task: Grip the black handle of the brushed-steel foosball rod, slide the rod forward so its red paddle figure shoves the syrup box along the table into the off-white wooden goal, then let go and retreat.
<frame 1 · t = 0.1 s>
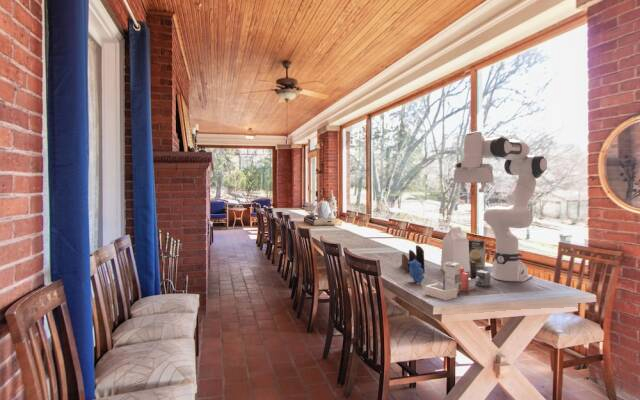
hand: (472, 192, 203), 48 cm above the table, fingers open, 8 cm apart
letter holder: (412, 269, 247), on the table
coffee box: (476, 266, 255), on the table
syrup box: (451, 293, 195), on the table
milk: (455, 270, 243), on the table
grapes: (414, 282, 215), on the table
rod: (475, 273, 205), point 7 cm above the table, slide at 0.0 cm
goal: (441, 295, 191), on the table
bearing: (482, 285, 209), on the table
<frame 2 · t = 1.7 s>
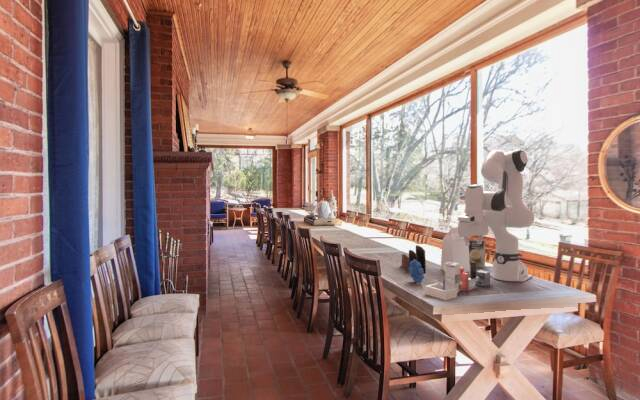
hand: (473, 244, 203), 22 cm above the table, fingers open, 8 cm apart
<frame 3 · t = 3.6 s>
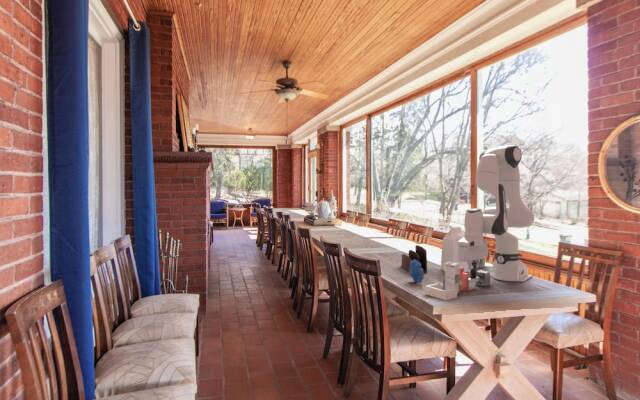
hand: (473, 268, 204), 10 cm above the table, fingers closed on rod, 3 cm apart
rod: (475, 273, 205), point 7 cm above the table, slide at 0.0 cm, touching gripper
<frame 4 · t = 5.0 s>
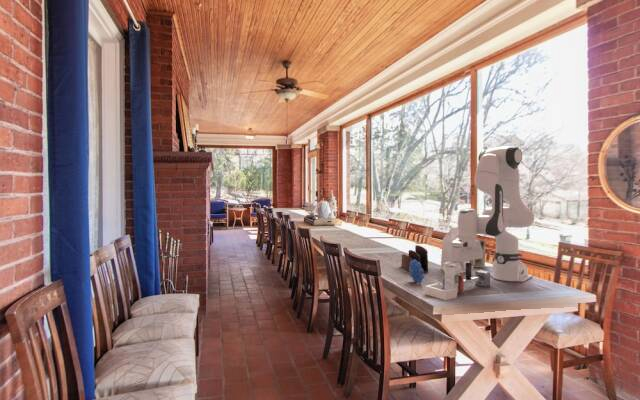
hand: (467, 269, 201), 10 cm above the table, fingers open, 4 cm apart
syrup box: (450, 293, 195), on the table, touching rod
rod: (470, 274, 203), point 7 cm above the table, slide at 3.9 cm, touching gripper, syrup box
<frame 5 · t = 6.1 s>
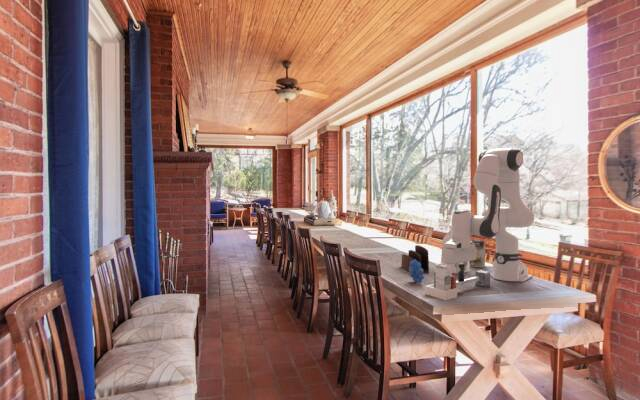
hand: (460, 271, 199), 10 cm above the table, fingers open, 3 cm apart
syrup box: (442, 295, 192), on the table, touching rod
rod: (463, 276, 200), point 7 cm above the table, slide at 9.5 cm, touching gripper, syrup box
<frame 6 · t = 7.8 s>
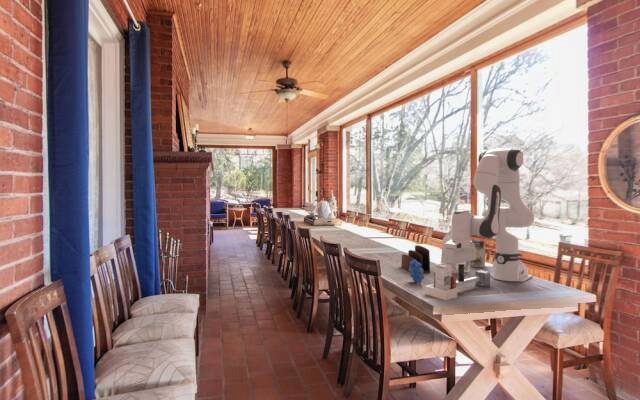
hand: (460, 271, 199), 10 cm above the table, fingers open, 7 cm apart
syrup box: (442, 295, 192), on the table
rod: (463, 276, 200), point 7 cm above the table, slide at 9.6 cm
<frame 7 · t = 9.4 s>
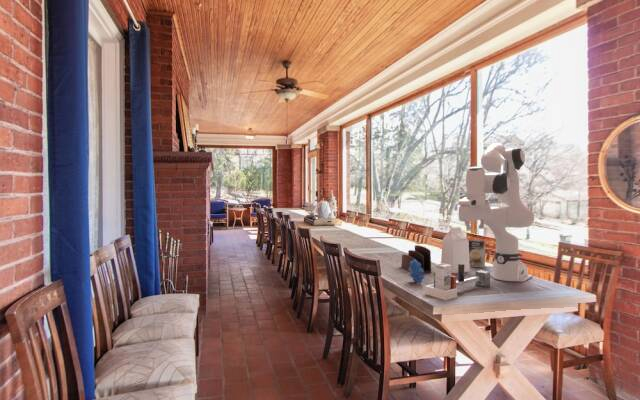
hand: (475, 229, 196), 30 cm above the table, fingers open, 8 cm apart
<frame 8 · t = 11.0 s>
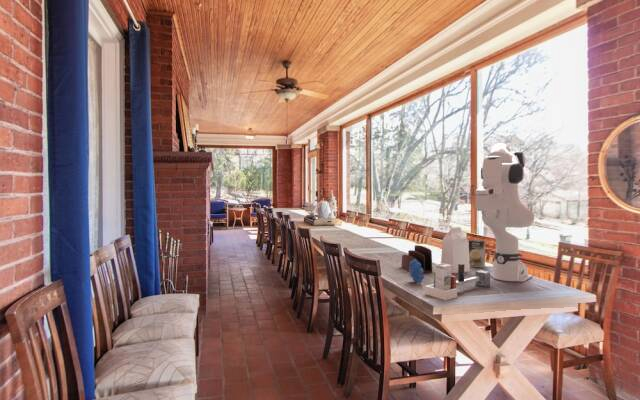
hand: (491, 219, 193), 35 cm above the table, fingers open, 8 cm apart
at the end: syrup box inside the target area (1.1 cm from its centre), on the table; rod slide at 9.6 cm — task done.
